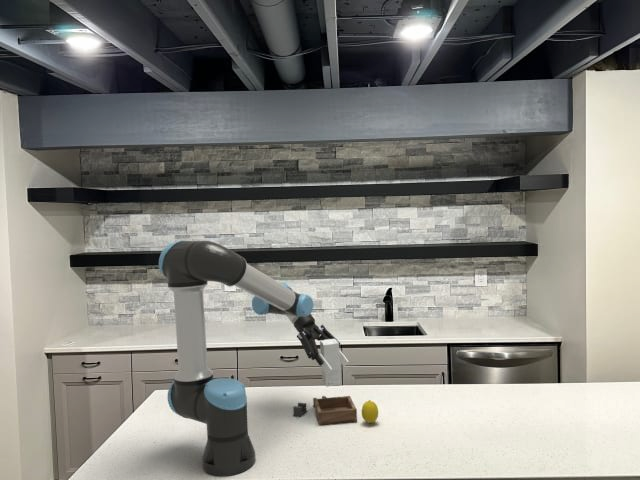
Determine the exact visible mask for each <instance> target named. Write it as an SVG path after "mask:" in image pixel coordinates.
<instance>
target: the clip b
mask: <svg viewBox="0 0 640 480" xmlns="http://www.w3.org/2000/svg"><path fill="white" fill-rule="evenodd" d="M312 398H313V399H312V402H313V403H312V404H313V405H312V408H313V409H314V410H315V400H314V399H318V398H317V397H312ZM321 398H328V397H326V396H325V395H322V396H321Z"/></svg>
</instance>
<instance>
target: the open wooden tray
mask: <svg viewBox="0 0 640 480" xmlns="http://www.w3.org/2000/svg"><path fill="white" fill-rule="evenodd" d="M314 400H315V409H314V411H315V413H314V414H315V417H316V419H317V424H318V426H319V427H323V426H325V427H326V426H331V425H332V426H334V425H344V424H354V423H358V412H357V411H358V410H357V408H356V405H355V403H354V402H353V400H352V398H351V396H350V395H347V396H346V395H343V396H334V397H327V398H322V397H321V398H317V399H314Z"/></svg>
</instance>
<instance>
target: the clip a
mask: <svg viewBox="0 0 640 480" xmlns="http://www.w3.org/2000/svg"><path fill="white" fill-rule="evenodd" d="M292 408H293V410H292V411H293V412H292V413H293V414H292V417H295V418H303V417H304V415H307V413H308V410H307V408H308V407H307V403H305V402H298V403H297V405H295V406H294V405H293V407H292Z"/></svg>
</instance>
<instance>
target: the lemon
mask: <svg viewBox="0 0 640 480" xmlns="http://www.w3.org/2000/svg"><path fill="white" fill-rule="evenodd" d="M361 416H362V417H361V418H362V419H363V420H364V421H365V422H366V423H368V424H369V425H371V424H373V423H374V422H376V420H377V419H378V417H379V408H378V406H377V404H376V403H375V402H374V401H372V400H369V399H368V401H365V402H364V403H363V404H362V408H361Z"/></svg>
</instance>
